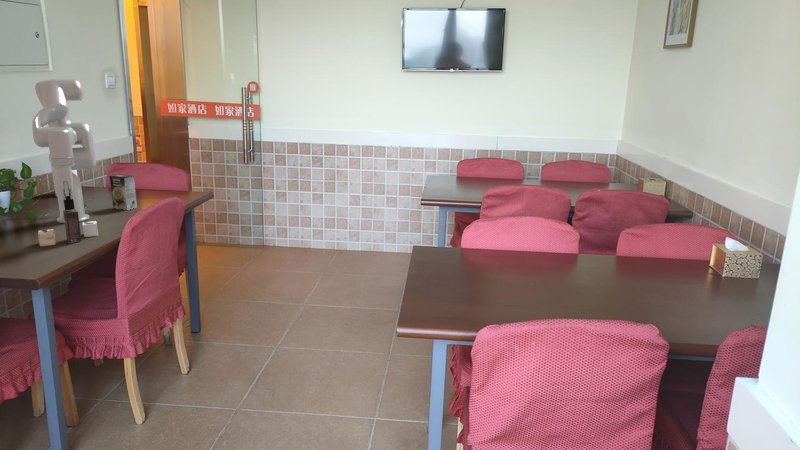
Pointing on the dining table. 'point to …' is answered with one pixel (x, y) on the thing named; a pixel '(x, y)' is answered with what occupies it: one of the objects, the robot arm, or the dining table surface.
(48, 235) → the birch digit block
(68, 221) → the box
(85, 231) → the offwhite digit block
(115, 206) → the coffee box
